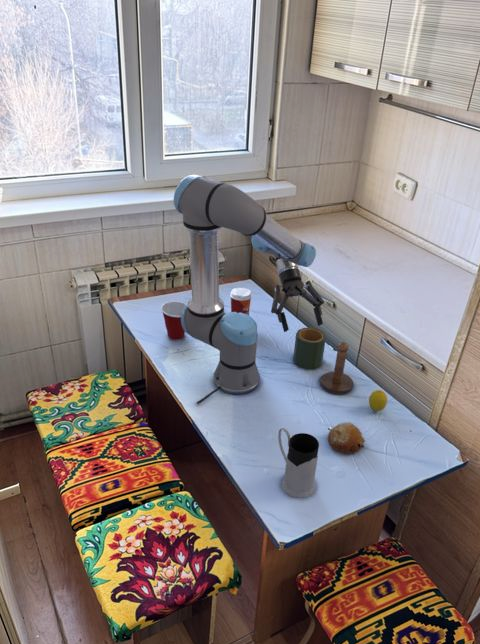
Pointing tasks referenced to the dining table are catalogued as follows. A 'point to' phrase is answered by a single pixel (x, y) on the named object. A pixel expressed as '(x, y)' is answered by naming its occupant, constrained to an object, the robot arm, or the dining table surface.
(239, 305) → the coffee cup
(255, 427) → the dining table surface
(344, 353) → the peg stand
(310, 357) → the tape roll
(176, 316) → the plastic cup
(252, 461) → the dining table surface
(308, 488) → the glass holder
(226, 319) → the robot arm
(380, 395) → the lemon
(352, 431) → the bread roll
